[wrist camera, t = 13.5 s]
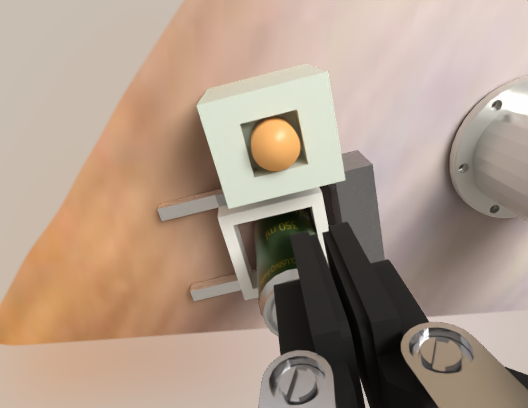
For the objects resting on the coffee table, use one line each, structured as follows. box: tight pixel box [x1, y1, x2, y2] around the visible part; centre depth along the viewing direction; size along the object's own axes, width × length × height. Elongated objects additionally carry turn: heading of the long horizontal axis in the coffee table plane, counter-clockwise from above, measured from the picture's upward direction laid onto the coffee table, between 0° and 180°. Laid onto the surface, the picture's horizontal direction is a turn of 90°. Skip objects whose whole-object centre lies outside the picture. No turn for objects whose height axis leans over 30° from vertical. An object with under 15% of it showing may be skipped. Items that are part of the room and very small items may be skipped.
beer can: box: [254, 209, 329, 337], centre depth 29 cm, size 5×5×12 cm
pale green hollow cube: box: [196, 63, 345, 209], centre depth 27 cm, size 8×8×8 cm
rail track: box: [157, 150, 384, 301], centre depth 33 cm, size 18×11×4 cm, turn 104°
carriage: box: [215, 187, 329, 301], centre depth 32 cm, size 8×11×2 cm
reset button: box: [250, 115, 300, 171], centre depth 24 cm, size 3×3×2 cm
